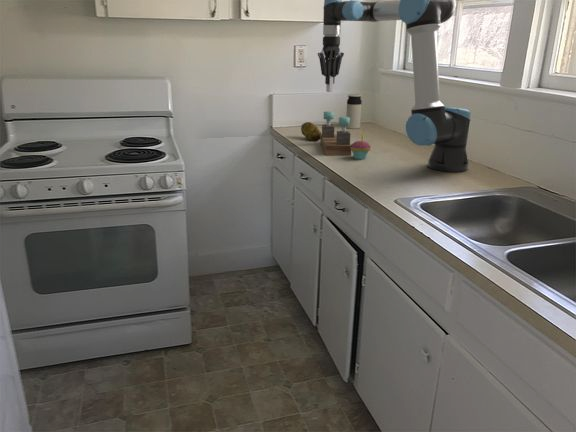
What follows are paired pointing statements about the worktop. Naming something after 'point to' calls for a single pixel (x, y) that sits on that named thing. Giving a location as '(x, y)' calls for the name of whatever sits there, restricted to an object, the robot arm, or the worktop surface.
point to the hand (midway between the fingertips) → (329, 91)
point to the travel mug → (354, 110)
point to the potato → (310, 131)
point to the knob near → (344, 123)
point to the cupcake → (360, 148)
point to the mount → (335, 141)
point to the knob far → (328, 117)
